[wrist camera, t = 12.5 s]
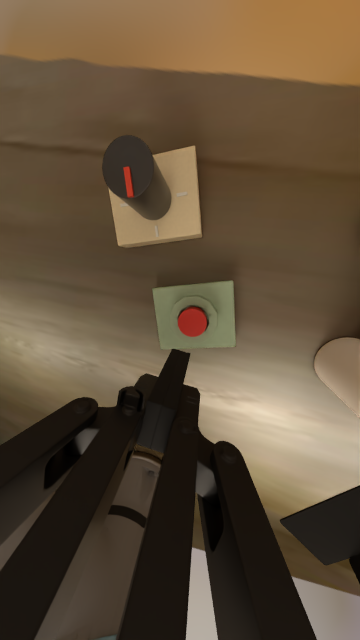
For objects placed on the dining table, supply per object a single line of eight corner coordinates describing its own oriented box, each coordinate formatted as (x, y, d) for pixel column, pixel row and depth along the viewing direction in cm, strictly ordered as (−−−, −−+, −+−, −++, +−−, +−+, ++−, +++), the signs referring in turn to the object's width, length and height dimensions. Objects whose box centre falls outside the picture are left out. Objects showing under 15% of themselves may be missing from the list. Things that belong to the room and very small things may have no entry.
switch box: (163, 344, 33) (157, 354, 29) (156, 287, 31) (148, 289, 27) (234, 341, 31) (237, 351, 27) (231, 280, 29) (234, 281, 25)
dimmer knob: (132, 181, 25) (95, 139, 17) (169, 174, 24) (148, 126, 16) (137, 223, 26) (105, 201, 18) (173, 217, 25) (156, 192, 17)
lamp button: (181, 333, 28) (179, 337, 27) (178, 307, 27) (176, 310, 26) (208, 332, 28) (207, 336, 26) (206, 305, 27) (205, 307, 25)
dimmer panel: (126, 248, 30) (117, 245, 27) (115, 176, 28) (103, 165, 25) (202, 237, 28) (201, 233, 25) (196, 159, 26) (194, 144, 23)
